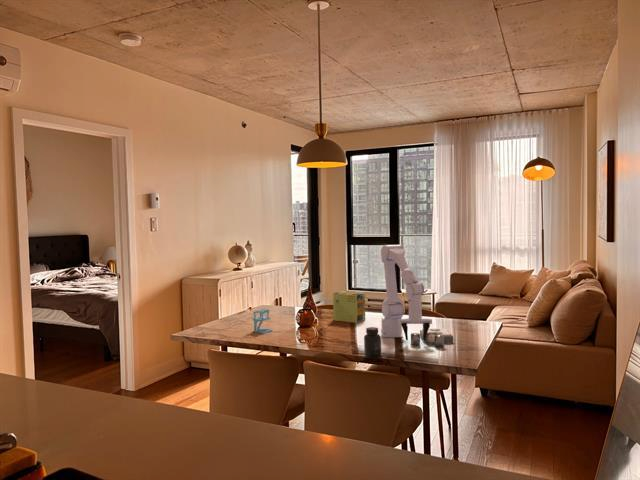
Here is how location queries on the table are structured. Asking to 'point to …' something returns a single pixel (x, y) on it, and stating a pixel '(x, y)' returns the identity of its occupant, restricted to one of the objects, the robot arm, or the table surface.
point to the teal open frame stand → (261, 321)
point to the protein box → (349, 306)
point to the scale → (432, 332)
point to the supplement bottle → (372, 343)
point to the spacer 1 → (415, 339)
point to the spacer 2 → (439, 341)
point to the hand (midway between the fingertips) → (415, 339)
